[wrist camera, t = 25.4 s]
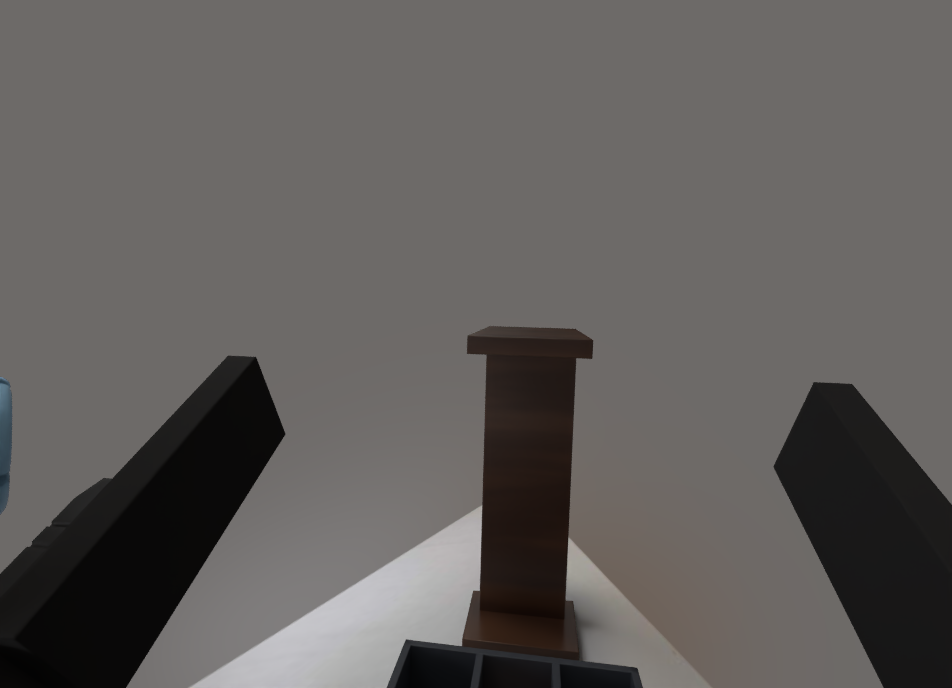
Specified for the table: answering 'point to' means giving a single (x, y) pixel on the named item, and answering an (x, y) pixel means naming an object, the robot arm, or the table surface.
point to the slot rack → (500, 670)
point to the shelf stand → (526, 491)
